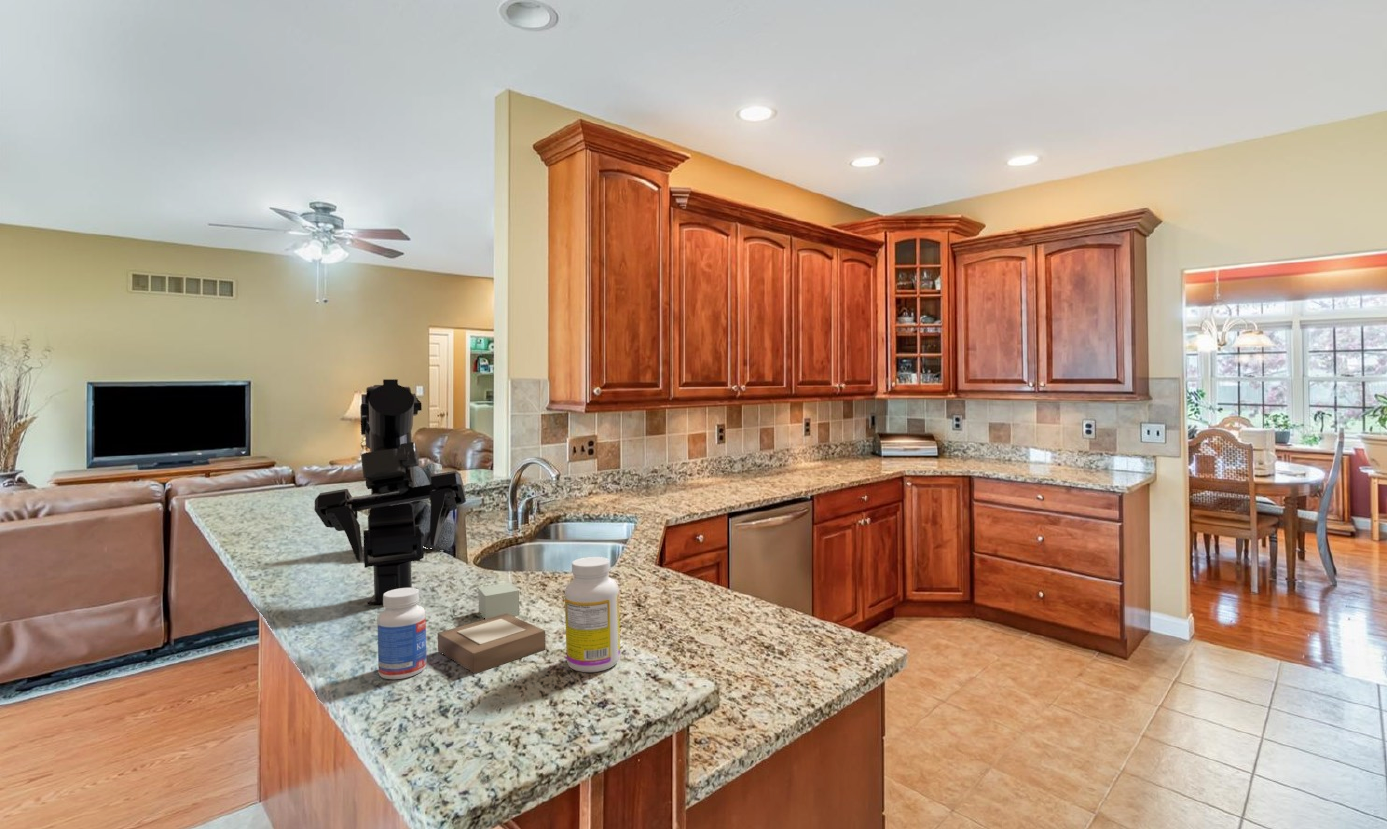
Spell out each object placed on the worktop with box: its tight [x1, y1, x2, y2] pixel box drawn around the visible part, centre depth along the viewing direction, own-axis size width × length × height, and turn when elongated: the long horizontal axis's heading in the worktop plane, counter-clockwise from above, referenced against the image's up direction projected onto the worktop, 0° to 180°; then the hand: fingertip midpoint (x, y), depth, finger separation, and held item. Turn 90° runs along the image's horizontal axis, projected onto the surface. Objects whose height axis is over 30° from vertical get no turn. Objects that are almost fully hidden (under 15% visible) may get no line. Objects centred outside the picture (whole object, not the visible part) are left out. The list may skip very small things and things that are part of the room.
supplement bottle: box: [564, 556, 621, 673], centre depth 79 cm, size 7×7×13 cm
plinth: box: [437, 614, 547, 674], centre depth 84 cm, size 10×10×3 cm
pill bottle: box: [376, 587, 427, 680], centre depth 78 cm, size 6×5×10 cm
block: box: [477, 582, 520, 619], centre depth 98 cm, size 5×5×4 cm
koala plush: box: [404, 461, 456, 551], centre depth 143 cm, size 17×18×20 cm
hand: (396, 553), depth 86 cm, fingers open, 9 cm apart
